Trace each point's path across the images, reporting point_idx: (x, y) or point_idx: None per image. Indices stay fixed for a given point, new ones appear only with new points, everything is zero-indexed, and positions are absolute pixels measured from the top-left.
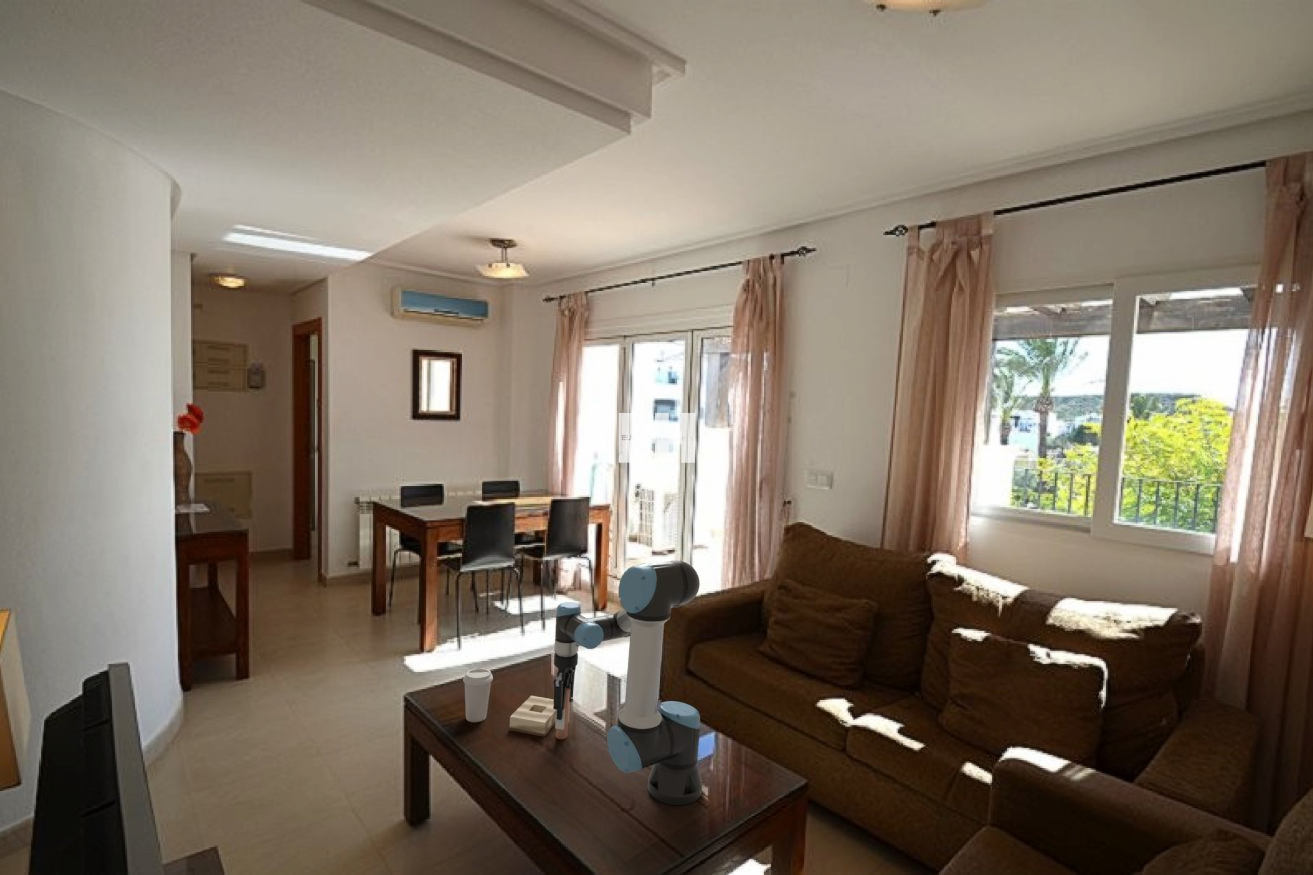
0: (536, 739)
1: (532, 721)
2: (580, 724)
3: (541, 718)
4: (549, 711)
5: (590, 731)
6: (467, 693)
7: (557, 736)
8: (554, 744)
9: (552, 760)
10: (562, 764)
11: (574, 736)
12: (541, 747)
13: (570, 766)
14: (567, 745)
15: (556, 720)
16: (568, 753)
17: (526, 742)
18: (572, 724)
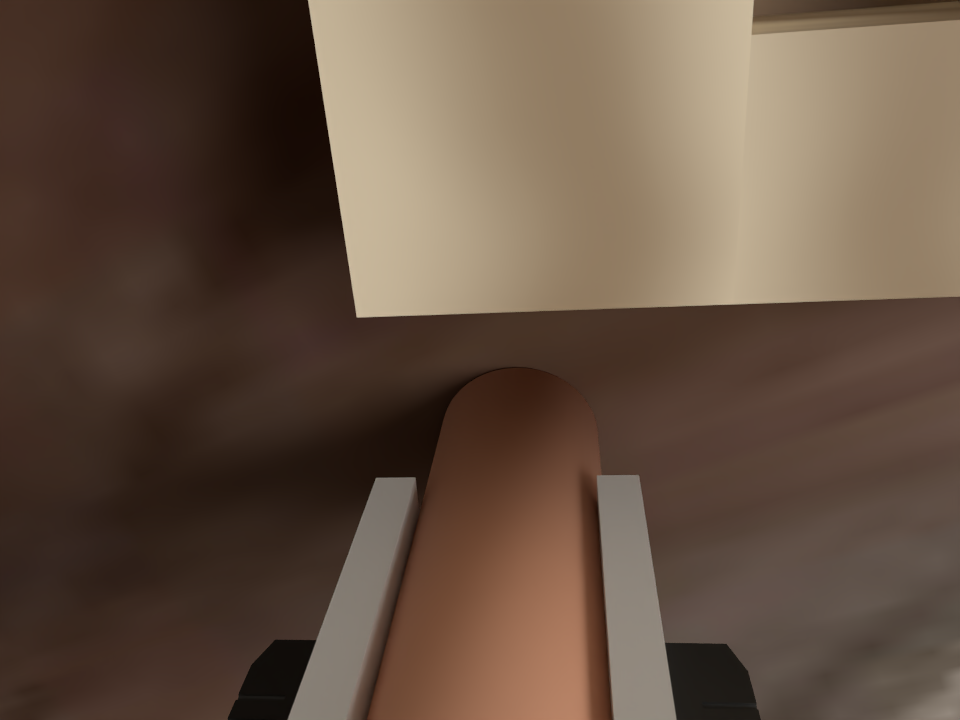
0: (284, 159)
1: (318, 19)
2: (921, 539)
3: (490, 167)
4: (875, 185)
5: (763, 679)
6: None
7: (443, 424)
8: (297, 432)
9: (5, 531)
10: (14, 631)
11: None
12: (147, 319)
13: (35, 695)
14: None
15: (345, 581)
16: (215, 619)
17: (131, 56)
18: (896, 450)
